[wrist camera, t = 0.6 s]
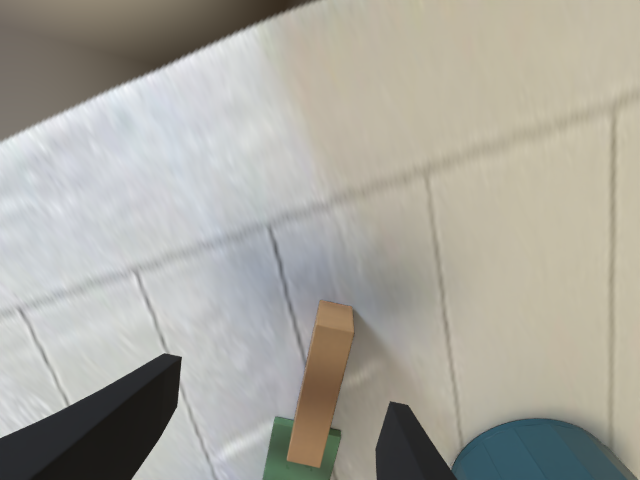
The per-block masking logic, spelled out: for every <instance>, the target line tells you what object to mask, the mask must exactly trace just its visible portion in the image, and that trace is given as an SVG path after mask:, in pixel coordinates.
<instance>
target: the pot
mask: <svg viewBox="0 0 640 480" xmlns="http://www.w3.org/2000/svg"><path fill="white" fill-rule="evenodd" d="M452 472H453V474H454V475H455V477H456V478H457V479H458V480H638V479H637V478H636V477H635V476H634V475H633V474H632V472H631V471H630V470H629V469H628V468H627V467H626V466H625V465H624V464H623V463H622V462H621V461H620V460H619V459H618V458H617V457H616V456H615V455H614V453H613V452H612V451H611V450H610V449H609V448H608V447H606V446H605V445H603V444H602V443H601V442H600V441H599V440H598V439H597V438H595V437H594V436H593V435H592V434H590V433H589V432H587V431H585V430H583V429H582V428H580V427H577V426H575V425H572V424H569V423H566V422H562V421H557V420H551V419H525V420H519V421H513V422H510V423H506V424H503V425H500V426H497V427H495V428H492V429H490V430H488V431H486V432H484V433H483V434H481V435H480V436H478V437H477V438H475V439H474V440H473V441H472V442H470V443H469V444H468V445H467V446H466V447H465V448H464V449H463V451H462V452H461V453H460V455H459V456H458V457H457V459H456V461H455V463H454V465H453V467H452Z"/></svg>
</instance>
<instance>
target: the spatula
mask: <svg viewBox="0 0 640 480" xmlns="http://www.w3.org/2000/svg"><path fill="white" fill-rule="evenodd" d="M353 337H354V322H353V310H352V307H351V306H346V305H342V304H337V303H332V302H328V301H323V300H320V302H319V306H318V311H317V315H316V320H315V325H314V329H313V334H312V339H311V343H310V348H309V352H308V357H307V362H306V366H305V371H304V376H303V380H302V385H301V389H300V394H299V399H298V403H297V408H296V413H295V417H294V421H293V420H289V419H284V418H279V417H275V420H274V424H273V429H272V434H271V440H270V445H269V450H268V455H267V460H266V465H265V470H264V475H263V480H330V477H331V473H332V469H333V465H334V462H335V458H336V454H337V451H338V447H339V443H340V440H341V431H339V430H334V429H330V426H331V423H332V419H333V415H334V411H335V407H336V403H337V399H338V395H339V391H340V387H341V384H342V380H343V376H344V372H345V368H346V364H347V360H348V356H349V352H350V348H351V344H352V341H353Z"/></svg>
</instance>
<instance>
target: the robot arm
mask: <svg viewBox="0 0 640 480" xmlns="http://www.w3.org/2000/svg"><path fill="white" fill-rule="evenodd" d="M181 360H182V357H180V356H175V355H170V354H166V353H164V354H162V355H160V356H159V357H157V358H155V359H153V360H152V361H150V362H148V363H146V364H145V365H143V366H141V367H140V368H138V369H136V370H134V371H133V372H131V373H129V374H128V375H126V376H124V377H122V378H121V379H119V380H117V381H115V382H114V383H112V384H110V385H108V386H106V387H105V388H103V389H101V390H99V391H97V392H96V393H94V394H92V395H90V396H88V397H86V398H84V399H82V400H80V401H78V402H76V403H74V404H73V405H71V406H69V407H67V408H65V409H63V410H61V411H59V412H57V413H55V414H53V415H51V416H49V417H47V418H45V419H42V420H40V421H38V422H36V423H34V424H32V425H29V426H27V427H25V428H23V429H20V430H18V431H16V432H14V433H11V434H9V435H7V436H4V437H2V438H0V480H131V479H132V478H133V476H134V475H135V473H136V472H137V471H138V469H139V468H140V466H141V465H142V463H143V462H144V460H145V459H146V458H147V456H148V455H149V453H150V452H151V450H152V449H153V447H154V446H155V444H156V443H157V441H158V440H159V438H160V437H161V435H162V433H163V431H164V430H165V428H166V426H167V424H168V423H169V421H170V419H171V417H172V415H173V413H174V411H175V409H176V408H177V403H178V392H179V381H180V370H181ZM376 473H377V480H458V479H457V478H456V477H455V475H454V474H453V472H452V471H451V470H450V468H449V467H448V465H447V464H446V462H445V461H444V459H443V458H442V457H441V455H440V454H439V452H438V451H437V449H436V448H435V446H434V445H433V443H432V442H431V440H430V438H429V437H428V435H427V434H426V432H425V431H424V429H423V428H422V426H421V425H420V423H419V421H418V420H417V418H416V417H415V415H414V414H413V412H412V411H411V409H410V408H409V406H408V405H405V404H400V403H396V402H391V401H390V403H389V406H388V410H387V413H386V416H385V420H384V423H383V426H382V429H381V433H380V436H379V439H378V443H377V446H376Z"/></svg>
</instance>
